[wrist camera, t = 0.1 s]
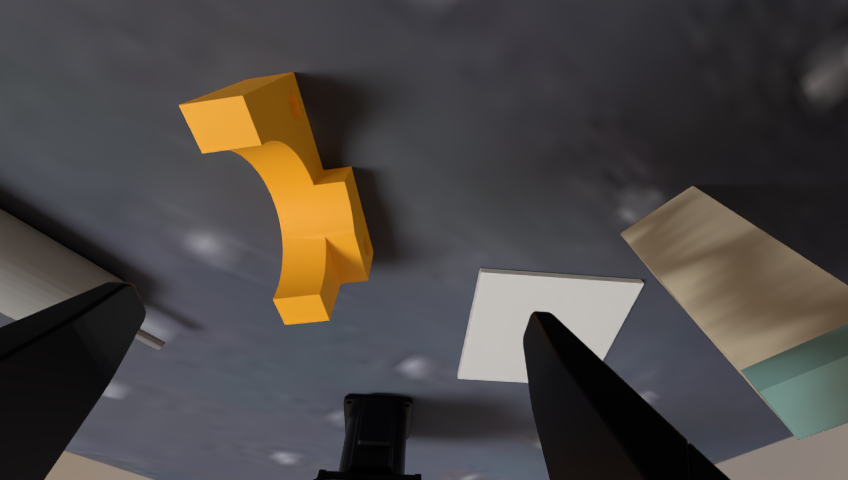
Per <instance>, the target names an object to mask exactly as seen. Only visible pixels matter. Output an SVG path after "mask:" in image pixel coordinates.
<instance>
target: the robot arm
mask: <svg viewBox="0 0 848 480" xmlns="http://www.w3.org/2000/svg"><path fill="white" fill-rule="evenodd" d="M145 314H146V311H145V307H144V305H143V303H142V301H141V298H140V296H139V294H138V292H137V290H136V288H135V286H134V285H133V284H131V283H128V282H115V281H113V282H107V283H104V284H102V285H100V286H97V287H95V288H93V289H90V290H88V291H86V292H83V293H81V294H78V295H76V296H74V297H71V298H69V299H67V300H64V301H62V302H60V303H57V304H55V305H53V306H50V307H48V308H45V309H43V310H41V311H38V312H36V313H34V314H31V315H29V316H27V317H24V318H22V319H19V320H17V321H15V322H12V323H10V324H8V325H5V326H3V327H1V328H0V480H44V479H45V478H46V476H47V474H48V473H49V472H50V470H51V469H52V467H53V466H54V464H55V463H56V462H57V460H58V459H59V457H60V456H61V454H62V453H63V451H64V450H65V448H66V447H67V445H68V444H69V442H70V441H71V439H72V438H73V437H74V435H75V434H76V432H77V431H78V429H79V428H80V426H81V425H82V423H83V422H84V420H85V419H86V417H87V416H88V414H89V413H90V411H91V410H92V409H93V407H94V406H95V404H96V403H97V401H98V400H99V398H100V397H101V395H102V394H103V392H104V391H105V389H106V388H107V386H108V385H109V383H110V381H111V379H112V378H113V376H114V374H115V373H116V371H117V369H118V367H119V365H120V363H121V362H122V360H123V358H124V356H125V354H126V352H127V351H128V349H129V347H130V345H131V343H132V341H133V340H134V338H135V336H136V334H137V332H138V330H139V329H140V327H141V325H142V323H143V321H144V319H145ZM523 349H524V356H525V363H526V370H527V377H528V385H529V392H530V399H531V405H532V410H533V414H534V419H535V423H536V427H537V430H538V434H539V438H540V442H541V446H542V450H543V454H544V458H545V462H546V466H547V470H548V474H549V478H550V480H730V479H729V478H728V477H727V476H726V475H725V474H724V473H723V472H721V471H720V470H719V469H718V468H717V467H716V466H715V465H714V464H713V463H712V462H710V461H709V460H708V459H707V458H706V457H705V456H704V455H703V454H702V453H701V452H700V451H699V450H698V449H697V448H696V447H694V446H693V445H692V444H690V443H688V441H687V439H686V438H685V437H684V436H683V435H681V434H680V433H679V432H678V431H677V430H676V429H675V428H674V427H673V426H672V425H671V424H670V423H669V422H668V421H666V420H665V419H664V418H663V417H662V416H661V415H660V414H659V413H658V412H657V411H656V410H655V409H654V408H653V407H652V406H650V405H649V404H648V403H647V402H646V401H645V400H644V399H643V398H642V397H641V396H640V395H639V394H638V393H637V392H635V391H634V390H633V389H632V388H631V387H630V386H629V385H628V384H627V383H626V382H625V381H624V380H623V379H622V378H621V377H619V376H618V375H617V374H616V373H615V372H614V371H613V370H612V369H611V368H610V367H609V366H608V365H607V364H606V363H605V362H603V361H602V360H601V359H600V358H599V357H598V356H597V355H596V354H595V353H594V352H593V351H592V350H591V349H590V348H588V347H587V346H586V345H585V344H584V343H583V342H582V341H581V340H580V339H579V338H578V337H577V336H576V335H575V334H574V333H572V332H571V331H570V330H569V329H568V328H567V327H566V326H565V325H564V324H563V323H562V322H561V321H560V320H559V319H558V318H556V317H555V316H554V315H553V314H552V313H550V312H541V311H534V312H533V313H532V314H531V316H530V318H529V321H528V324H527V327H526V330H525V333H524V336H523ZM412 407H413V401H412V400H411V399H408V398H390V397H372V396H353V395H348V396H345V398H344V416H345V433H346V435H345V441H344V446H343V451H342V457H341V462H340V467H339V471H326V470H323V469H320V470H319V473H318V477H317V478H316V479H314V480H421V474H415V475H404V472H405V449H406V439H408V438H409V433H410V424H411V416H412Z"/></svg>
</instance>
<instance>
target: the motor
mask: <svg viewBox="0 0 848 480" xmlns="http://www.w3.org/2000/svg"><path fill="white" fill-rule="evenodd" d="M113 281H115V282H123V281H122V280H121V279H119V278H117V277H116V276H114V275H112V274H111V273H109V272H107V271H106V270H104V269H102V268H100V267H99V266H97V265H95V264H94V263H92V262H90V261H89V260H87V259H85V258H84V257H82V256H80V255H78V254H77V253H75V252H73V251H72V250H70V249H68V248H67V247H65V246H63V245H61V244H60V243H58V242H56V241H55V240H53V239H51V238H50V237H48V236H46V235H44V234H43V233H41V232H39V231H38V230H36V229H34V228H33V227H31V226H29V225H27V224H26V223H24V222H22V221H21V220H19V219H17V218H16V217H14V216H12V215H11V214H9V213H7V212H5V211H4V210H2V209H0V312H1V313H3V314H5V315H7V316H9V317H11V318H13V319H15V320H19V319H22V318H24V317H27V316H29V315H31V314H34V313H36V312H38V311H41V310H43V309H45V308H48V307H50V306H53V305H55V304H57V303H60V302H62V301H64V300H67V299H69V298H71V297H74V296H76V295H78V294H81V293H83V292H86V291H88V290H90V289H93V288H95V287H97V286H100V285H102V284H104V283H107V282H113ZM135 338H136V339H138V340H140V341H142V342H144V343H146V344H147V345H149V346H151V347H153V348H155V349H157V350H160V349H161V348H162V346H163V345H164V344H165V342H163V341H162V340H160V339H158V338H156V337H154V336H152V335H151V334H149V333H147V332H145V331H143V330H141V329H139V330H138V332H137V334H136V336H135Z"/></svg>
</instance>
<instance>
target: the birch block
mask: <svg viewBox="0 0 848 480" xmlns="http://www.w3.org/2000/svg"><path fill="white" fill-rule="evenodd" d="M620 235H621V236H622V237H623V238H624V239H625V241H626V242H627V243H628V244H629V245H630V247H631V248H632V249H633V250H634V251H635V253H636V254H637V255H638V256H639V257H640V259H641V260H642V261H643V262H644V263H645V265H646V266H647V267H648V268H649V270H650V271H651V272H652V273H653V274H654V275H655V277H656V278H657V279H658V280H659V281H660V282H661V284H662V285H663V286H664V287H665V288H666V289H667V290H668V292H669V293H670V294H671V295H672V296H673V297H674V298H675V300H676V301H677V302H678V303H679V304H680V305H681V306H682V308H683V309H684V310H685V311H686V312H687V313H688V314H689V316H690V317H691V318H692V319H693V320H694V321H695V322H696V324H697V325H698V326H699V327H700V328H701V329H702V330H703V332H704V333H705V334H706V335H707V336H708V337H709V338H710V340H711V341H712V342H713V343H714V344H715V345H716V346H717V348H718V349H719V350H720V351H721V352H722V353H723V354H724V356H725V357H726V358H727V359H728V360H729V361H730V362H731V364H732V365H733V366H734V367H735V368H736V369H737V370H738V372H739V373H740V374H741V375H742V376H743V377H744V378H745V380H746V381H747V382H748V383H749V384H750V385H751V386H752V388H753V389H754V390H755V391H756V392H757V393H758V394H759V396H760V397H761V398H762V399H763V400H764V401H765V402H766V404H767V405H768V406H769V407H770V408H771V409H772V410H773V412H774V413H775V414H776V415H777V416H778V417H779V418H780V420H781V421H782V422H783V423H784V424H785V425H786V427H787V428H788V429H789V430H790V431H791V432H792V433H793V435H794V436H795V437H796V438H797V439H798V440H800V439H803V438H805V437H808V436H811V435H814V434H817V433H820V432H823V431H826V430H829V429H831V428H834V427H837V426H840V425H843V424H846V423H848V285H846V284H845V283H843V282H841V281H840V280H838V279H837V278H835V277H834V276H832V275H831V274H829V273H828V272H826V271H824V270H823V269H821V268H820V267H818V266H817V265H815V264H814V263H812V262H810V261H809V260H807V259H806V258H804V257H803V256H801V255H800V254H798V253H797V252H795V251H793V250H792V249H790V248H789V247H787V246H786V245H784V244H783V243H781V242H779V241H778V240H776V239H775V238H773V237H772V236H770V235H769V234H767V233H766V232H764V231H762V230H761V229H759V228H758V227H756V226H755V225H753V224H752V223H750V222H748V221H747V220H745V219H744V218H742V217H741V216H739V215H738V214H736V213H735V212H733V211H731V210H730V209H728V208H727V207H725V206H724V205H722V204H721V203H719V202H717V201H716V200H714V199H713V198H711V197H710V196H708V195H707V194H705V193H704V192H702V191H700V190H699V189H697V188H696V187H694V186H691V187H690V188H688V189H687V190H685V191H684V192H682V193H681V194H679V195H678V196H676V197H675V198H673V199H672V200H670V201H669V202H667V203H665V204H664V205H662V206H661V207H659V208H658V209H656V210H655V211H653V212H652V213H650V214H649V215H647V216H646V217H644V218H643V219H641V220H640V221H638V222H637V223H635V224H634V225H632V226H631V227H629V228H628V229H626V230H624V231H623V232H621V233H620Z"/></svg>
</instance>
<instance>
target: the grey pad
mask: <svg viewBox="0 0 848 480" xmlns="http://www.w3.org/2000/svg"><path fill="white" fill-rule="evenodd" d="M643 285H644V283H643V282H642V280H641V279H629V278H615V277H601V276H586V275H572V274H558V273H544V272H530V271H515V270H501V269H487V268H480V271H479V275H478V280H477V285H476V289H475V294H474V299H473V303H472V308H471V313H470V318H469V322H468V327H467V332H466V336H465V341H464V346H463V350H462V355H461V360H460V364H459V369H458V379H472V380H489V381H507V382H525V383H528V377H527V370H526V363H525V356H524V349H523V336H524V333H525V330H526V327H527V324H528V321H529V318H530V316H531V314H532V313H533V312H534V311H541V312H550V313H552V314H553V315H554V316H555V317H556V318H558V319H559V320H560V321H561V322H562V323H563V324H564V325H565V326H566V327H567V328H568V329H569V330H570V331H571V332H572V333H574V334H575V335H576V336H577V337H578V338H579V339H580V340H581V341H582V342H583V343H584V344H585V345H586V346H587V347H588V348H590V349H591V350H592V351H593V352H594V353H595V354H596V355H597V356H598V357H599V358H600V359H601V360H602V361H603V359H604V357H605V356H606V354H607V352H608V350H609V348H610V346H611V344H612V343H613V341H614V339H615V337H616V335H617V333H618V331H619V330H620V328H621V326H622V324H623V322H624V320H625V318H626V317H627V315H628V313H629V311H630V309H631V307H632V305H633V304H634V302H635V300H636V298H637V296H638V294H639V292H640V291H641V289H642V287H643Z"/></svg>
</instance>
